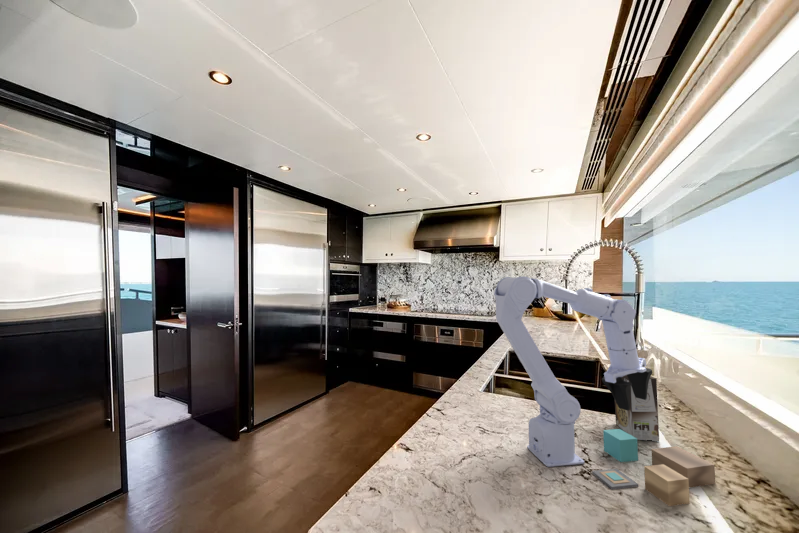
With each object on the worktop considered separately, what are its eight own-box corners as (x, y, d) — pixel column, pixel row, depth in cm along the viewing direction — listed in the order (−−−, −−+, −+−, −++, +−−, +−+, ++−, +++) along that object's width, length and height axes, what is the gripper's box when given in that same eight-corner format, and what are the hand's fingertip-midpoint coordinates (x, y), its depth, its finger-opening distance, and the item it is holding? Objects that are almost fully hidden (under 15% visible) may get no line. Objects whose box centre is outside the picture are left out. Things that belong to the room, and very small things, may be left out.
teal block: (620, 462, 67) (619, 440, 67) (603, 451, 72) (603, 430, 72) (638, 460, 68) (637, 438, 68) (620, 449, 72) (619, 428, 73)
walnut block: (688, 489, 59) (687, 468, 59) (652, 467, 66) (651, 449, 66) (715, 484, 60) (714, 464, 60) (677, 464, 67) (676, 446, 67)
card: (612, 489, 58) (611, 485, 58) (592, 473, 63) (592, 469, 63) (638, 486, 59) (638, 482, 59) (616, 470, 64) (616, 467, 64)
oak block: (669, 506, 54) (667, 481, 54) (645, 489, 58) (644, 466, 59) (689, 504, 54) (688, 478, 55) (664, 487, 59) (663, 464, 59)
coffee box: (660, 442, 75) (658, 378, 76) (632, 439, 77) (630, 377, 78) (639, 425, 84) (637, 368, 85) (614, 423, 86) (612, 367, 87)
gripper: (623, 358, 65) (635, 419, 64) (656, 342, 71) (667, 398, 70) (591, 353, 71) (602, 409, 70) (623, 339, 77) (634, 390, 77)
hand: (632, 403), depth 71 cm, fingers open, 7 cm apart
